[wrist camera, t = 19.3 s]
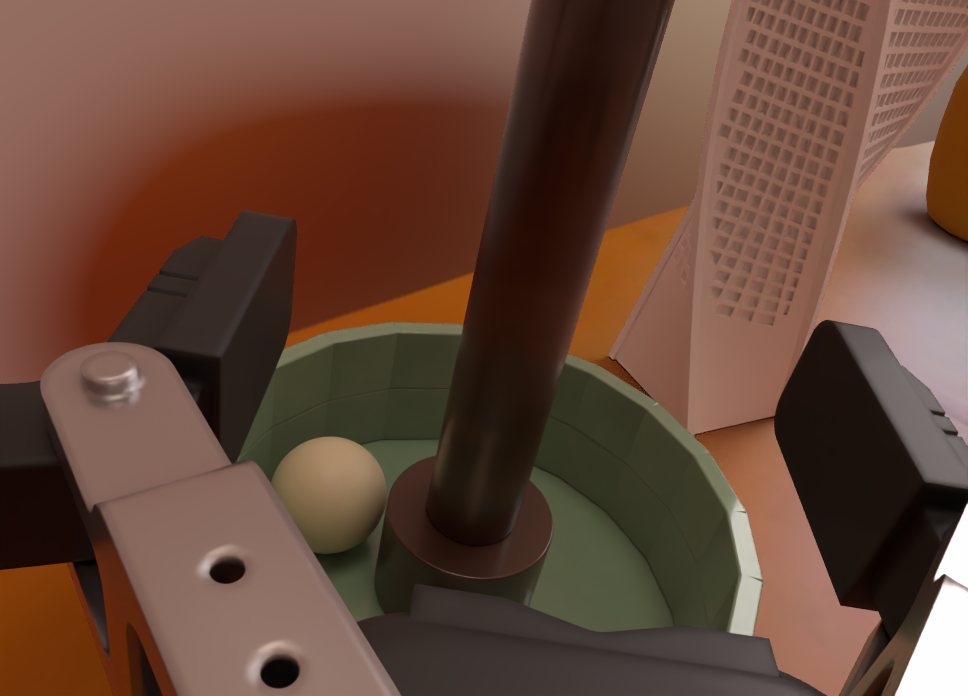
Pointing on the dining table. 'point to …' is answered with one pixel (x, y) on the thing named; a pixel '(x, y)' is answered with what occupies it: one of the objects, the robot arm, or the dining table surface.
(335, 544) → the bead
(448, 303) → the dining table surface
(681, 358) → the skyscraper
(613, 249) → the dining table surface
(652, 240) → the dining table surface
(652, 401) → the bowl
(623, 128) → the pestle
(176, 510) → the robot arm
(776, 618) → the dining table surface
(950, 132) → the apple
